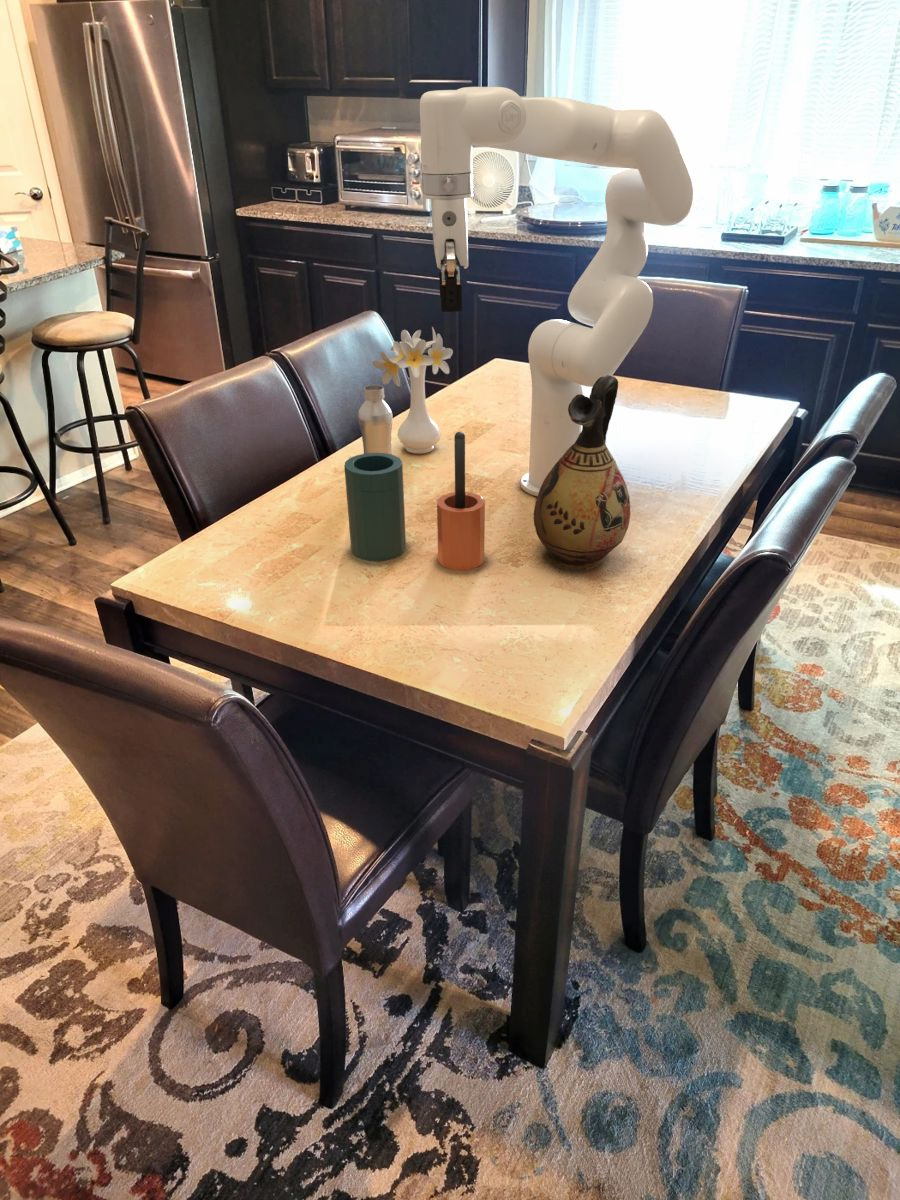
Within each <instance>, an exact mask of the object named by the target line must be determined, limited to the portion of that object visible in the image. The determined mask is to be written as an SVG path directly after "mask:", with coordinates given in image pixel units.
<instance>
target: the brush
mask: <svg viewBox="0 0 900 1200" xmlns="http://www.w3.org/2000/svg"><path fill="white" fill-rule="evenodd" d="M454 492H455V508H458V509H464V508H465V492H466V435H465V434H464V432H463V431H456V432H455V434H454Z"/></svg>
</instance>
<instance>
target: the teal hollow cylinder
mask: <svg viewBox="0 0 900 1200" xmlns="http://www.w3.org/2000/svg"><path fill="white" fill-rule="evenodd" d="M403 465H404V464H403V460H402V459H401V458H400V457H399V456H397V455H394V454H393V453H392V454H387V453H366V454H364V453H362V454H357V455H354V456H352V457H349V458H348V459H347V460H346V461H345V462H344V478H345V489H346V503H347V504H346V505H347V514H348V515H347V516H348V527H349V529H348V530H349V540H350V549H351V553H352V555H353V556H354V557H355V558H357V559H359V560H363V561H365V562H386V561H392V560H394V559H397V558H399V557H400V556H402V555H403V554H404V553H405V552H406V550H407V537H406V536H407V534H406V533H407V532H406V514H405V513H406V512H405V490H404V467H403Z"/></svg>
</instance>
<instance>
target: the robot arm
mask: <svg viewBox="0 0 900 1200" xmlns="http://www.w3.org/2000/svg"><path fill="white" fill-rule="evenodd" d="M419 124H420V126H419V127H420V150H421V152H420V153H421V154H420V155H421V173H422V174H421V176H422V177H421V178H422V179H421V180H422V197H423V199H426V200H427V199H428V200H430V206H431V207H430V208H431V227H432V242H433V250H434V251H433V252H434V256H435V257H434V258H435V262H436V267H437V269H438V270H440V271H439V273H438V276H439V278H438V279H439V280H438V281H439V297H440V310H441V312H442V313H453V312H454V313H455V312H457V313H459V312H461V311H462V310H463V299H462V298H463V295H462V294H463V293H462V291H463V290H462V283H461V274H460V272H461V271H460V270H461V269H460V267H463V268H464V269H465V270H466V269H467V268H468V267H469V241H468V240H469V238H468V237H469V231H468V230H469V229H468V208H467V199H469V198H472V197H473V196H474V185H473V184H474V182H473V181H474V175H473V169H474V168H473V167H474V166H473V146H479V147H483V148H492V149H497V150H498V149H499V150H505V151H511V152H516V153H520V154H521V153H522V154H525V155H529V156H534V157H539V158H545V159H553V160H559V161H565V162H574V163H579V164H587V165H593V166H598V167H606V168H616V169H617V168H618V169H620V170H618V171H616V172H614V174H613V175H612V176H611V178H610V179H609V181H608V184H607V185H606V188H605V189H606V190H605V194H604V195H605V198H604V201H605V209H606V210H605V211H606V232H605V238H604V239H603V242H602V244H601V246H600V247H599V249H598V250H597V252H596V254H595V255H594V257H593V258H592V259H591V261H590V263H589V264H588V265H587V267H586V268H585V270H584V271H583V272H582V274H581V275H580V277H579V278H578V280H577V282H576V283H575V284H574V286H573V287H572V289H571V291H570V293H569V296H568V298H567V310H568V313H569V314H570V315H571V317H572V318H574V319H575V320H576V321H577V322H579V323H575V322H573V321H568V320H564V319H549V320H545V321H543V322H541V323H539V324H538V325H537V326H536V327H535V328H534V330H533V331H532V333H531V335H530V337H529V341H528V345H527V353H528V354H527V355H528V364H529V370H530V371H529V372H530V378H531V379H530V380H531V407H530V408H531V409H530V434H529V435H530V436H529V437H530V438H529V457H528V458H529V459H528V460H529V461H528V472H527V473H525V474H524V475H522V477H521V478H520V488H521V489H522V490H523V491H524V492H525V493H527V494H530V495H532V496H535V497H537V496H538V493H539V491H540V488H541V486H542V483H543V481H544V480H545V478H546V476H547V475H548V473H549V472H550V471H551V469H552V468H553V467H554V465H555V464H556V463H557V462H558V461H559V459H560V458H561V457H562V456H563V455H564V454H565V452H566V451H567V450H568V449H569V448H570V447H571V446H572V445H573V444H574V443H575V442H576V440H577V438H578V437H579V434H580V433H581V431H582V425H579V424H576V423H574V422H573V421H572V420H571V418H570V416H569V413H568V407H569V404H570V403H571V401H572V399H573V398H574V397H575V396H576V395H578V394H582V395H584V393H583V387H582V386H584V387H589V388H592V387H593V385H594V384H595V382H596V381H597V380H598V379H599V378H600V377H606V376H607V375H610V376H613V375H614V374H615V372H616V371H617V370H618V368H619V367H620V365H621V364H622V362H624V360H625V358H626V357H627V355H628V354H629V352H630V351H631V349H632V348H633V347H634V345H635V344H636V343H637V341H638V340H639V339H640V337H641V335H643V332H644V331H645V329H646V327H647V326H648V324H649V321H650V319H651V317H652V312H653V308H654V295H653V291H652V289H651V288H650V286H649V285H648V284H647V282H645V281H643V280H642V279H640V278H638V277H639V275H640V274H641V272H642V271H643V269H644V267H645V265H646V262H647V260H648V259H647V258H648V253H649V244H648V236H647V228H646V224H649V225H658V226H663V227H664V226H665V227H667V226H668V227H669V226H675V225H678V224H680V222H682V221H684V220H685V219H686V218H687V216H688V215H689V214H690V212H691V210H692V207H693V205H694V200H695V187H694V181H693V178H692V175H691V173H690V171H689V168H688V165H687V163H686V161H685V158H684V156H683V153H682V151H681V149H680V146H679V144H678V142H677V139H676V137H675V135H674V134H673V131H672V129H671V128H670V126H669V124H668V122H667V121H666V119H664V117H663V116H662V115H661V114H660V113H659V112H657V111H655V110H652V109H623V108H615V107H611V106H610V107H609V106H604V105H600V104H594V103H591V102H586V101H585V102H584V101H580V100H576V99H572V98H566V97H555V96H540V97H539V96H538V97H527V96H526V97H522V96H520V95H519V94H518V93H517V92H516V91H514V90H513V89H511V88H508V87H504V86H467V87H466V86H465V87H461V88H458V89H439V90H429V91H426V92H424V93H423V94H422V95H421V97H420V100H419ZM580 323H581V324H580ZM582 324H585V325H587V326H584V325H582ZM589 326H590V327H589Z"/></svg>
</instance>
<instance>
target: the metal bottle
mask: <svg viewBox="0 0 900 1200" xmlns="http://www.w3.org/2000/svg"><path fill="white" fill-rule="evenodd" d="M385 395H386V394H385V386H383V385H379V384H369V385H365V386H364V387H363V399H364V402H363V403H362V404H361V406H360V407H359V410H358V413H357V420H358V424H359V430H360V434H361V441H362V447H363V454H366V453H387V454H392V455H393V449H392V431H393V417H394V416H393V412H392V409H391V408H390V406H389V405H388V403H387V402H386V401H385V400H384V399H385V397H386V396H385Z"/></svg>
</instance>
